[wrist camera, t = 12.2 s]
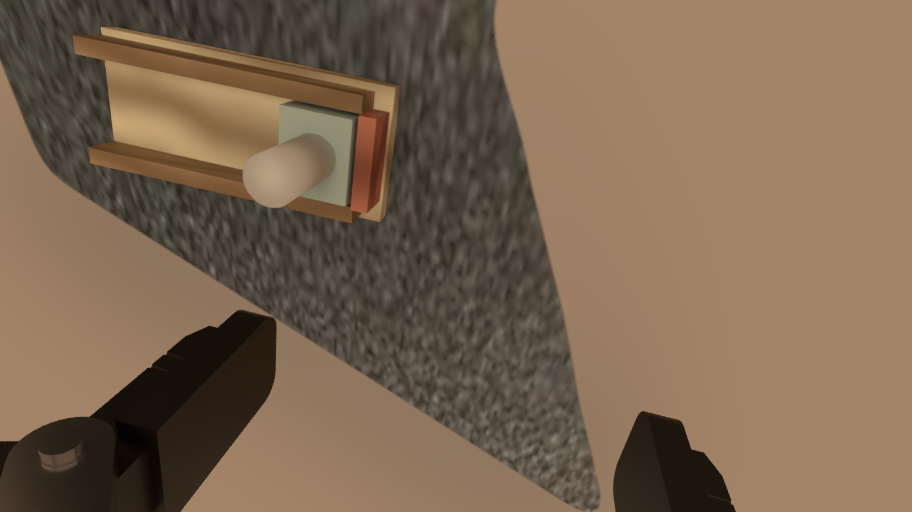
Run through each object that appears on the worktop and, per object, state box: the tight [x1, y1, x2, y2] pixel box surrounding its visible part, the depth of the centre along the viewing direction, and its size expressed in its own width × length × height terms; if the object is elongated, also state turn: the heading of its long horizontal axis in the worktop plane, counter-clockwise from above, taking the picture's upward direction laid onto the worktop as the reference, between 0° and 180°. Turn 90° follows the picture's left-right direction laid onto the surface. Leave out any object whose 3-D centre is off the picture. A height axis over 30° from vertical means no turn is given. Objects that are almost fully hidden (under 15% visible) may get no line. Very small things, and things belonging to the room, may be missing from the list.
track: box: [73, 27, 401, 223], centre depth 37 cm, size 10×22×4 cm, turn 80°
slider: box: [243, 100, 361, 208], centre depth 33 cm, size 6×5×9 cm
